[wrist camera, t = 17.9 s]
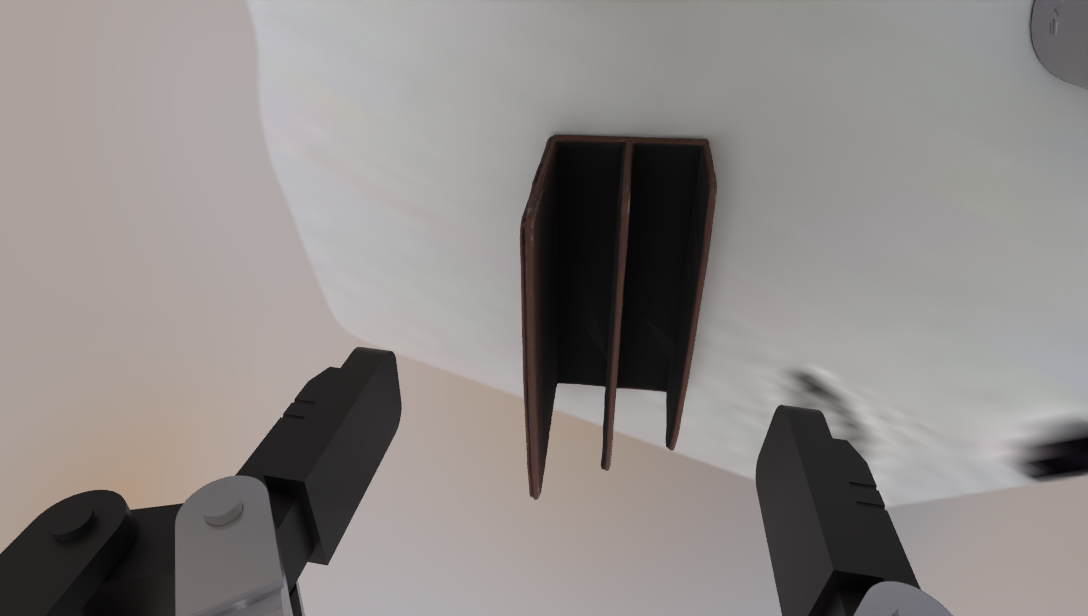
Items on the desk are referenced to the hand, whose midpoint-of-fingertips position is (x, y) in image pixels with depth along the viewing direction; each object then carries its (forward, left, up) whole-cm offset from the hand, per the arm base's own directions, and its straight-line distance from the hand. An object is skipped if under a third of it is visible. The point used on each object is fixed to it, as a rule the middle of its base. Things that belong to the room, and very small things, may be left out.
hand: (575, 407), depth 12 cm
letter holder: (-1, +12, -27) cm, 30 cm away
